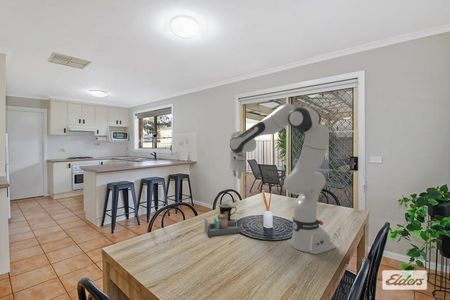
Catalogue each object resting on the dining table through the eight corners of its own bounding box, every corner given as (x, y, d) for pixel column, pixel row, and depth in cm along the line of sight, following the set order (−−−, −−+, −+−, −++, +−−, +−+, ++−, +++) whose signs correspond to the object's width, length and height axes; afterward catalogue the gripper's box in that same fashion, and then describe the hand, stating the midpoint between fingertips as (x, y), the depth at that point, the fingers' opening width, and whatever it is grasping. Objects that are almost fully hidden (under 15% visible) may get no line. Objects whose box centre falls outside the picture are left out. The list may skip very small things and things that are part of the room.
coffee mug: (217, 221, 150) (217, 206, 150) (221, 217, 158) (221, 203, 158) (234, 222, 147) (234, 208, 147) (236, 218, 156) (236, 204, 155)
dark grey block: (235, 225, 142) (235, 216, 142) (240, 232, 131) (240, 222, 131) (204, 228, 137) (204, 219, 137) (208, 236, 126) (207, 226, 126)
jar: (227, 227, 138) (227, 213, 138) (228, 231, 131) (228, 217, 131) (217, 227, 138) (217, 213, 137) (217, 232, 131) (217, 217, 131)
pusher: (216, 227, 138) (216, 216, 137) (219, 233, 129) (219, 221, 129) (214, 227, 137) (214, 216, 137) (217, 233, 129) (217, 221, 129)
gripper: (228, 155, 153) (228, 175, 153) (237, 157, 133) (237, 180, 133) (236, 155, 154) (236, 174, 155) (246, 157, 134) (246, 179, 135)
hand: (236, 177), depth 144 cm, fingers open, 8 cm apart
